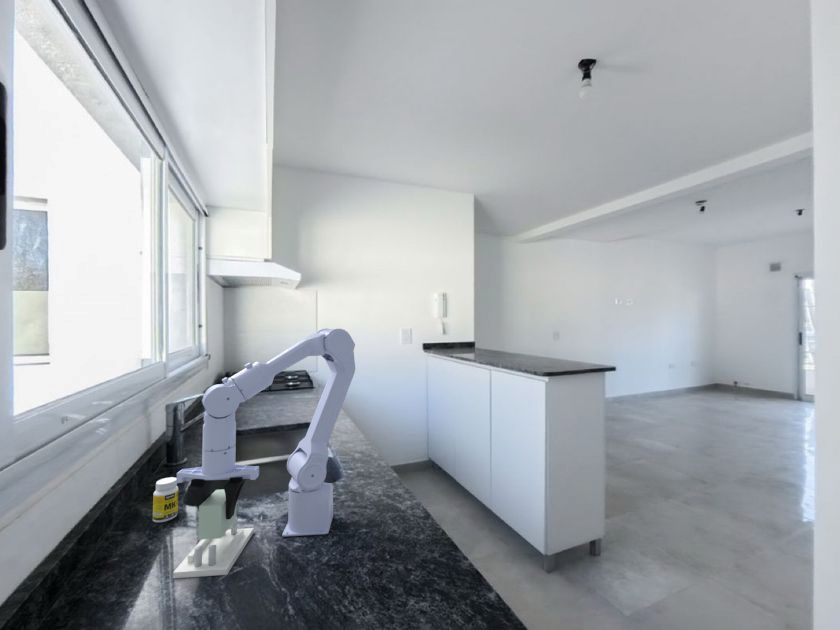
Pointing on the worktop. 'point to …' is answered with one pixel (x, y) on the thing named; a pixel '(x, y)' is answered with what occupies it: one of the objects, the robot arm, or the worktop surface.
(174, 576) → the tray
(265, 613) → the worktop surface
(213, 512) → the block
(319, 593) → the worktop surface
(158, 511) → the supplement bottle
